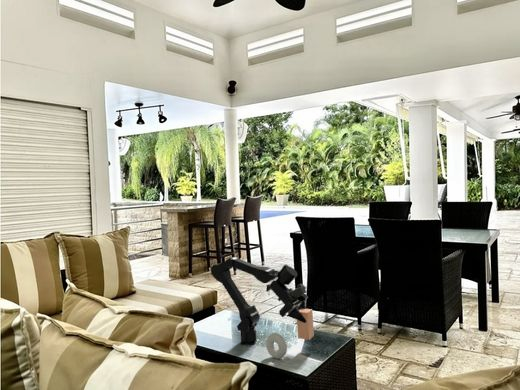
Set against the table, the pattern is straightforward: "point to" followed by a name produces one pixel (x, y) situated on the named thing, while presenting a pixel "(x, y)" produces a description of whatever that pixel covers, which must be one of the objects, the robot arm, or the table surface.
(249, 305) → the robot arm
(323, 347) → the table surface
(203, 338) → the table surface
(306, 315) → the post
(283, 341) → the donut
